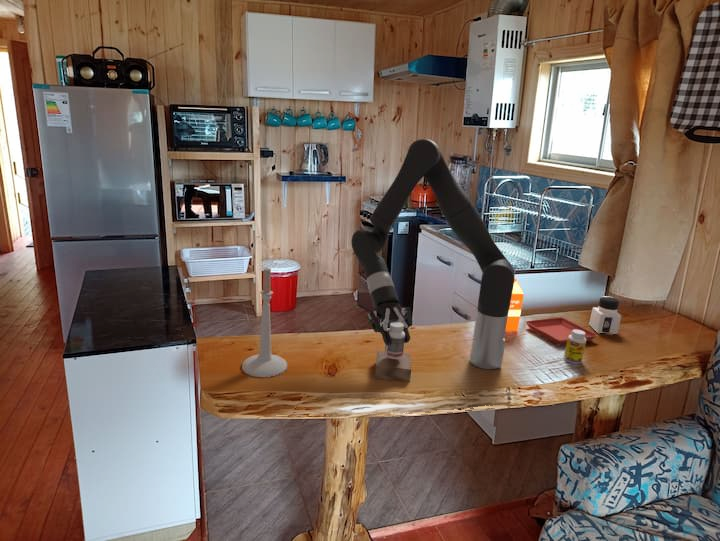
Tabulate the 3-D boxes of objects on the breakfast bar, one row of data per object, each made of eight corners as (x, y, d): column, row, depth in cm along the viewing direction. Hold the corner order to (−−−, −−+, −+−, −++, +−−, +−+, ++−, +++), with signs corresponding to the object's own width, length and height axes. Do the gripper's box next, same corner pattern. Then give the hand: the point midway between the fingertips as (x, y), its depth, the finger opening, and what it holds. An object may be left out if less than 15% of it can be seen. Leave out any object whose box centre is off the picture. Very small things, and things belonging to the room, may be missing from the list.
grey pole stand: (287, 377, 148) (291, 275, 139) (240, 377, 146) (241, 274, 137) (286, 356, 160) (290, 261, 151) (243, 356, 158) (244, 260, 149)
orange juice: (498, 332, 191) (506, 279, 185) (487, 322, 199) (495, 271, 193) (517, 331, 193) (527, 279, 187) (506, 322, 201) (515, 272, 195)
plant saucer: (523, 328, 197) (524, 320, 196) (560, 324, 204) (561, 316, 203) (557, 349, 181) (559, 340, 180) (596, 343, 188) (598, 335, 187)
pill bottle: (406, 357, 153) (410, 326, 150) (391, 361, 150) (395, 329, 147) (395, 349, 157) (398, 319, 154) (380, 353, 154) (383, 322, 152)
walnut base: (408, 365, 160) (410, 353, 159) (409, 382, 150) (411, 369, 149) (375, 362, 160) (377, 350, 159) (374, 378, 151) (376, 366, 149)
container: (617, 335, 197) (625, 302, 193) (596, 333, 196) (604, 300, 193) (608, 327, 204) (615, 295, 200) (588, 325, 204) (595, 293, 200)
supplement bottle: (564, 362, 170) (570, 333, 167) (563, 355, 176) (569, 327, 173) (582, 365, 169) (588, 336, 166) (581, 358, 174) (587, 330, 171)
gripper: (365, 286, 151) (381, 341, 145) (408, 282, 158) (425, 335, 151) (355, 297, 157) (371, 351, 151) (397, 293, 164) (413, 344, 157)
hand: (398, 343), depth 151 cm, fingers closed on pill bottle, 5 cm apart
